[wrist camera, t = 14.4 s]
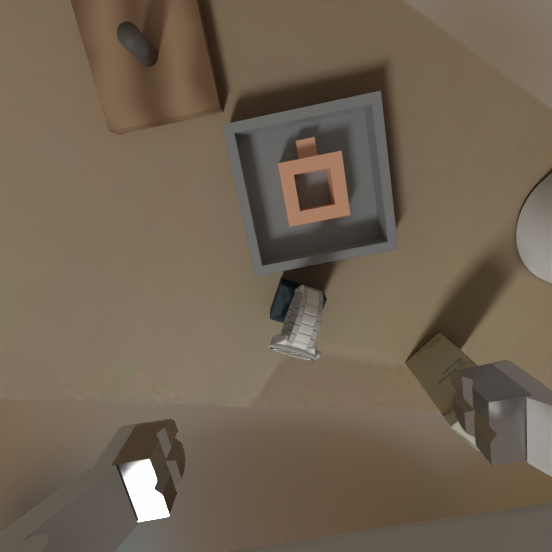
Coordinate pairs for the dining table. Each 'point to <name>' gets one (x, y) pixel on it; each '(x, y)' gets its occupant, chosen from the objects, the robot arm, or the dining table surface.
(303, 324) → the watch
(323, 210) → the ring
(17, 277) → the dining table surface
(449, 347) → the skincare box
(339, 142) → the tray
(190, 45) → the base
